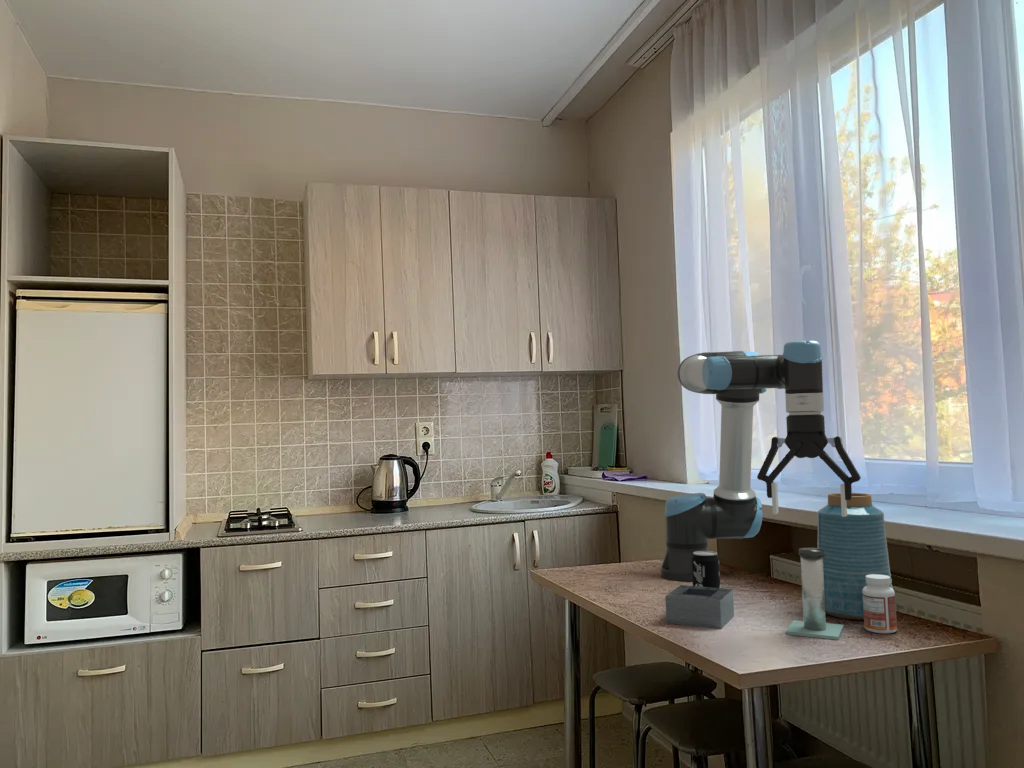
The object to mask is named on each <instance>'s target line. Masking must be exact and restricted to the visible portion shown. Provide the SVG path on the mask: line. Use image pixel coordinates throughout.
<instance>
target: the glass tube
mask: <svg viewBox="0 0 1024 768" xmlns="http://www.w3.org/2000/svg"><path fill="white" fill-rule="evenodd" d="M798 556H799V557H800V575H801V577H800V578H801V600H802V618H803V620H802V621H803V624H804V628H805V629H807V630H812V631H823V630H826V623H827V616H826V611H825V590H824V569H823V557H824V549H820V548H818V547H801V548H798Z"/></svg>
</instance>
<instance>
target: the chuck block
mask: <svg viewBox="0 0 1024 768" xmlns="http://www.w3.org/2000/svg"><path fill="white" fill-rule="evenodd" d="M734 605H735V603H734V589H733V588H723V587H720V588H712V587H700V586H693V585H685V584H680V585H679V586H677V587H676V588H674V589H673V590H671V591H669V592H668V593H666V595H665V617H666V618H665V620H666V624H671V625H672V624H673V625H674V624H675V625H683V626H691V627H700V628H701V627H702V628H709V629H719V630H720V629H721V630H722V629H723V628H724V627H725V625H726V624H728V623H729V622H730V621H731V620H732V619H733V618H734V617H735V609H734V607H735V606H734Z"/></svg>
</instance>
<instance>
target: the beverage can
mask: <svg viewBox="0 0 1024 768" xmlns="http://www.w3.org/2000/svg"><path fill="white" fill-rule="evenodd" d="M693 554H694V555H693V557H692V580H693V581H692V586H700V587H712V588H721V573H720V572H721V571H720V569H721V568H720V558H719V557H718V552H716V551H711V550H708V551H696V552H693Z"/></svg>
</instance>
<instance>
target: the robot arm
mask: <svg viewBox="0 0 1024 768" xmlns="http://www.w3.org/2000/svg"><path fill="white" fill-rule="evenodd" d="M677 379H678V381H679V384H680V385H681V386H682V387H683V388H684V389H685V390H687V391H690V392H693V393H696V394H703V395H715V400H716V401H717V402H718V403H719V404H720V407H721V410H720V414H721V415H720V447H719V451H720V452H719V477H718V478H719V479H718V480H719V483H718V484H719V485H718V486H717V487H716V488H714V489H713V496H712V497H707V495H706V494H705V493H704V492H697V493H696V492H695V493H684V494H679V495H675V496H672V497H669V498H667V500H666V501H665V506H664V514H663V515H664V517H665V520H664V521H665V544H666V546H665V547H666V548H665V553H664V556H663V560H662V564H661V567H660V575H661V577H662V578H664V579H667V580H671V581H677V582H678V581H679V582H693V580H692V557H693V555H694V554H693V552H696V551H709V547H708V546H709V545H708V543H709V542H708V541H709V540H710V539H711V540H712V539H713V540H715V539H729V540H730V539H739V540H742V539H748V538H749V539H750V538H754V537H755V536H756V535H757V534H759V532H760V530H761V526H762V524H763V523H762V522H763V515H764V514H763V504H762V501H761V499H760V498H759V497H757V494H756V492H755V490H753V488H752V487H751V479H752V478H751V477H752V454H753V453H752V451H753V450H752V449H753V448H752V447H753V423H754V422H753V421H754V420H753V419H754V417H753V416H754V406H755V405H756V404H758V403H759V402H760V394H761V395H762V394H764V393H766V392H767V390H768V389H778V390H782V389H784V393H785V412H786V413H788V415H787V416H786V417H785V420H786V436H785V438H784V437H778V436H773V437H772V438H771V444H770V449H769V451H768V453H767V455H766V457H765V459H764V461H763V463H762V465H761V468H760V469H759V471H758V473H757V477H756V478H757V479H758V480H759V481H762V482H765V485H766V496H767V498H769V499H771V505H772V515H777V514H779V511H780V510H779V490H778V488H779V487H778V482H776V481H775V480H776V478H778V476H779V475H780V473H782V471H783V470H784V469H785V468H786V466H788V464H789V463H790V462H791V461H792V460H793V458H794V457H795V458H798V459H803V458H809V459H814V458H818V457H819V458H820V459H821V461H823V462H824V463H825V464H826V465H827V467H828V468H830V469H831V471H832V472H834V474H835V475H836V476H837V477H838V478H839V479H840V480H841V481H842V482H843V483H840V484H839V487H840V493H841V513H842V517H846V516H847V506H846V500H851V498H852V493H853V492H852V489H853V488H852V484H853V483H856V482H859V481H860V480H862V479H861V478H862V477H861V475H860V473H859V471H858V470H857V468H856V467H855V465H854V463H853V462H852V460H851V458H850V456H849V454H848V452H847V450H846V449H845V447H844V446H843V440H842V437H841V436H839V435H836V436H834V437H833V436H832V437H827V435H826V429H825V428H826V427H825V416H824V414H822V413H823V412H825V404H824V403H825V401H824V399H825V398H824V387H823V386H824V385H823V383H824V382H823V381H824V380H823V354H822V348H821V343H819V341H818V340H817V341H816V340H795V341H789V342H786V343H785V344H784V345H783V353H782V354H764V355H763V354H762V355H761V354H759V353H758V352H756V351H749V350H748V351H747V350H746V351H745V350H735V351H734V350H733V351H716V352H710V351H709V352H708V351H707V352H700V353H695V354H692V355H690V356H688V357H686V358H684V359H683V360H682V361H681V362H680V364H679V365H678V368H677ZM784 444H785V445H786V447H787V448H788V449H789V451H788V452H787V453H786V454H785V456H784V457H783V458H782V460H781V461H780V462H779V463H778V464H777V465H776V467H774V469H773V470H772V471H771V473H770V474H768V472H769V470H770V468H771V465H772V464H773V461H774V459H775V457H776V455H777V454H778V453H777V452H778V450H779V448H781V447H783V445H784ZM828 444H830V446H831V447H832V448H835V450H836V452H837V453H838V455H839V457H840V459H841V460H842V462H843V464H844V466H845V468H846V469H847V471H848V472H849V474H850V476H849V475H847V473H846V472H845V471H844V470H843V469H842V468H841V467H840V466H839V465H838V464H837V463H836V462H835V461H834V459H832V457H830V455H829V454H828V453H827V452H826V451H825V447H826V446H827V445H828ZM767 474H768V475H767ZM774 481H775V482H774Z"/></svg>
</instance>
